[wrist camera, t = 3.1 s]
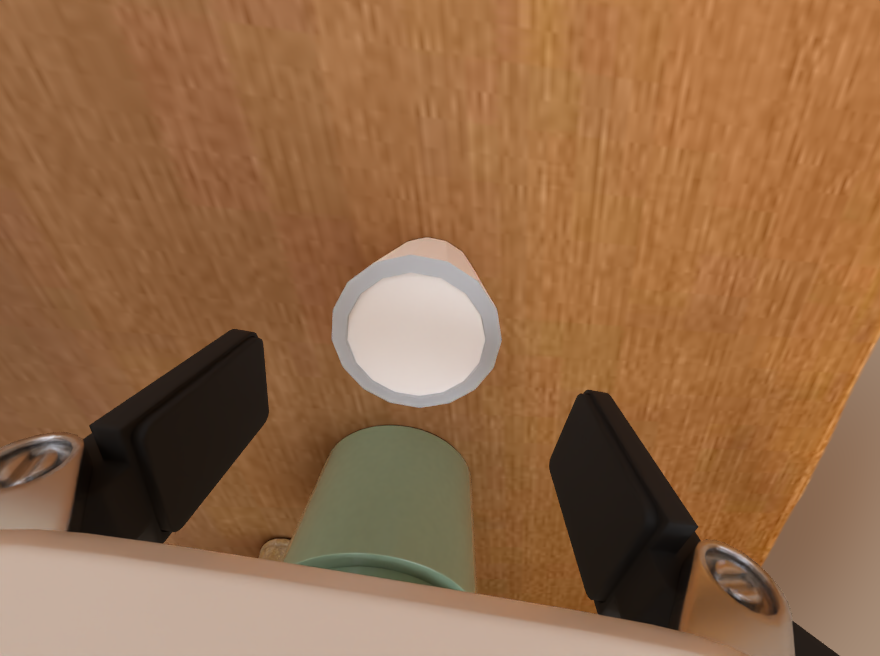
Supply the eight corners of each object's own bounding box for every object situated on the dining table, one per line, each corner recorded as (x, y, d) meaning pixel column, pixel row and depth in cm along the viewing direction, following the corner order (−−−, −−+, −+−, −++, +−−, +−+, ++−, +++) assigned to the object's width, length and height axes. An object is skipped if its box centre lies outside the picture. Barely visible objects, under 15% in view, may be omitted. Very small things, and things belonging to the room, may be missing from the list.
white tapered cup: (364, 226, 18) (314, 256, 12) (489, 224, 18) (508, 254, 11) (377, 337, 21) (343, 408, 15) (484, 337, 21) (497, 410, 14)
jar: (298, 444, 25) (188, 633, 15) (444, 409, 23) (435, 600, 13) (362, 537, 30) (313, 729, 20) (488, 515, 28) (507, 717, 18)
